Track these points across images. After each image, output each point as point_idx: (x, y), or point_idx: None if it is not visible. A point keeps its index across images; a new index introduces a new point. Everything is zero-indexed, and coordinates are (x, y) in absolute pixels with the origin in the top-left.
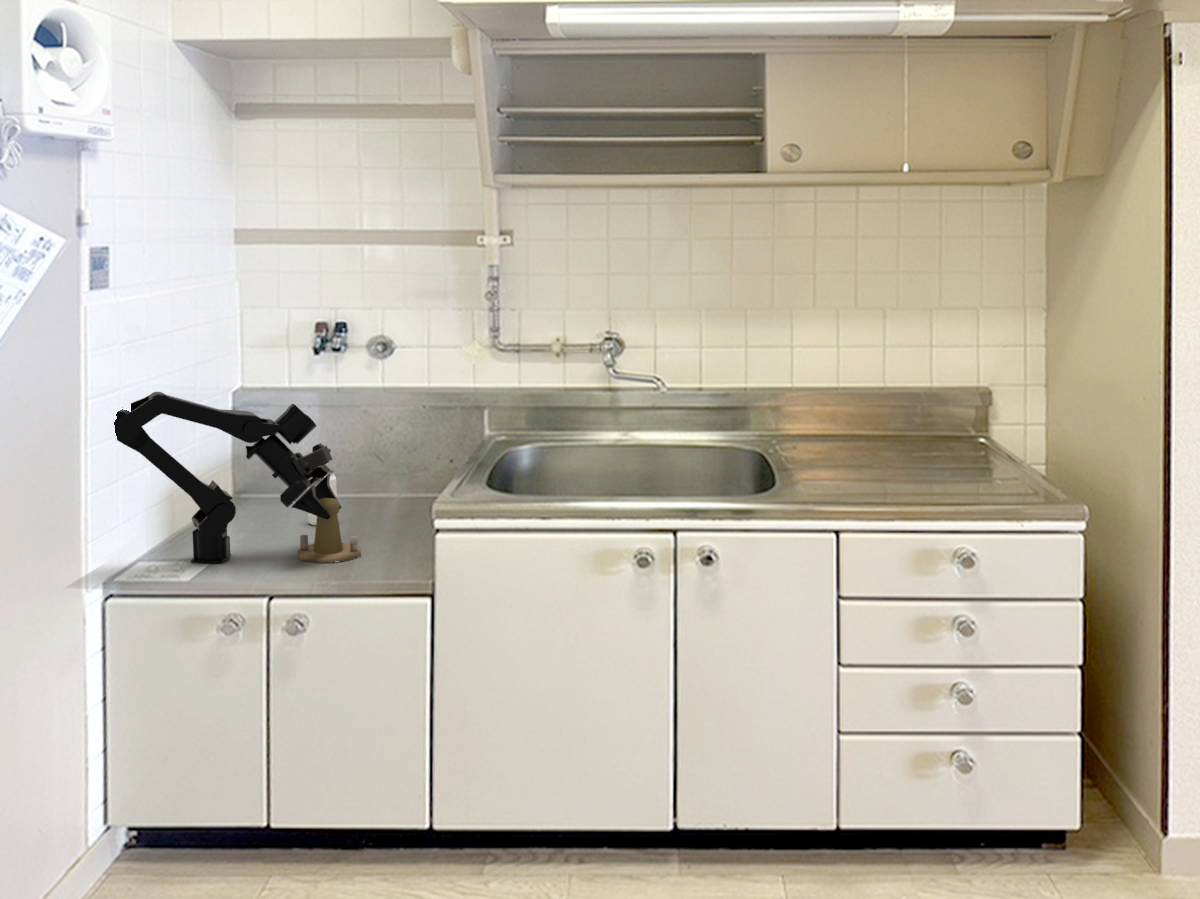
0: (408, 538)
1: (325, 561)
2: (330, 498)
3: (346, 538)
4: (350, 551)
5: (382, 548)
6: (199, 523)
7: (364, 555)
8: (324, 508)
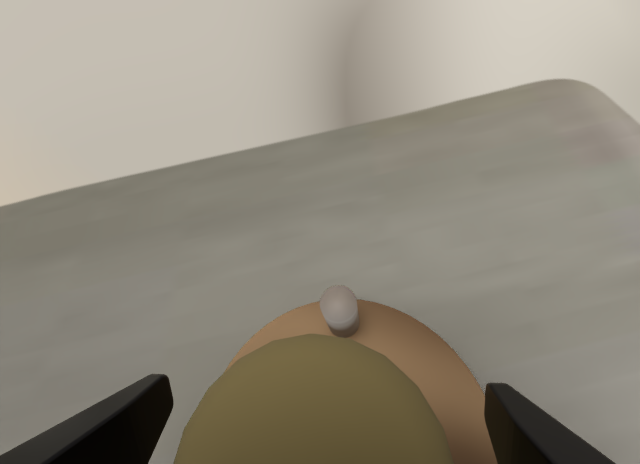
0: (122, 213)
1: None
2: (268, 437)
3: None
4: (353, 334)
5: (237, 255)
6: None
7: None
8: (581, 446)
